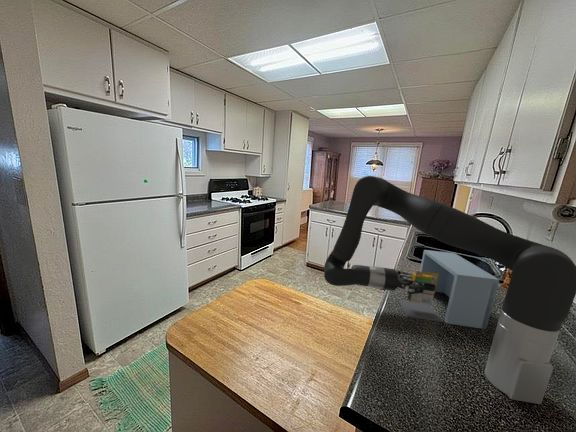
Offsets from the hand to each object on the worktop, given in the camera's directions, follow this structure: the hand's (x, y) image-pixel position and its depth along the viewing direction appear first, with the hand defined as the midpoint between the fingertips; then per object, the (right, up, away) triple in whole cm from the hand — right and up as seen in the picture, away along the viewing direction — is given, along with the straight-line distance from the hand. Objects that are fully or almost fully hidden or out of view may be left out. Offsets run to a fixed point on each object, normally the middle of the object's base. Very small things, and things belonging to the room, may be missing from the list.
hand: (432, 285), depth 82 cm
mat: (-4, -10, +2) cm, 11 cm away
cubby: (+10, -10, +8) cm, 16 cm away
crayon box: (-4, -6, +2) cm, 7 cm away
